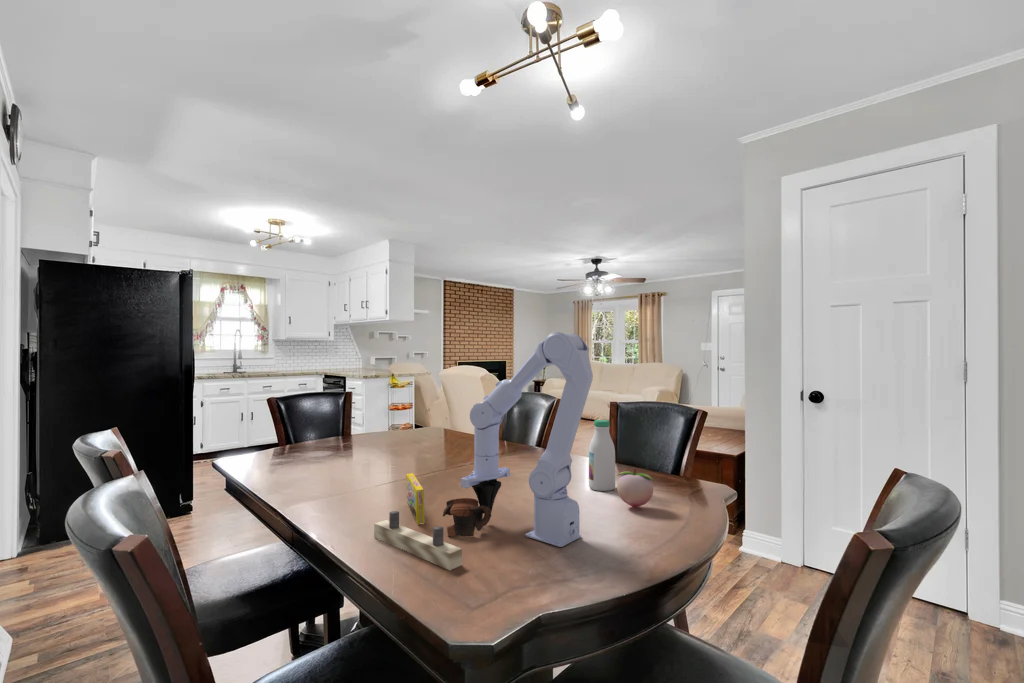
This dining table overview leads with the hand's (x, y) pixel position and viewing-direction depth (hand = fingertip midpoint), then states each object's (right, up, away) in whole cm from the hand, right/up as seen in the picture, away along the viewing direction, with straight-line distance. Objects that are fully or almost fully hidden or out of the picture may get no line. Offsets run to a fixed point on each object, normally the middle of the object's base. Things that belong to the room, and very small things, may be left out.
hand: (486, 512), depth 111 cm
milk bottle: (+33, -4, +30) cm, 45 cm away
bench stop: (-13, -2, -16) cm, 21 cm away
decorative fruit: (+38, -3, +12) cm, 40 cm away
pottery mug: (-4, -3, -5) cm, 7 cm away
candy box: (-18, -3, +7) cm, 19 cm away
